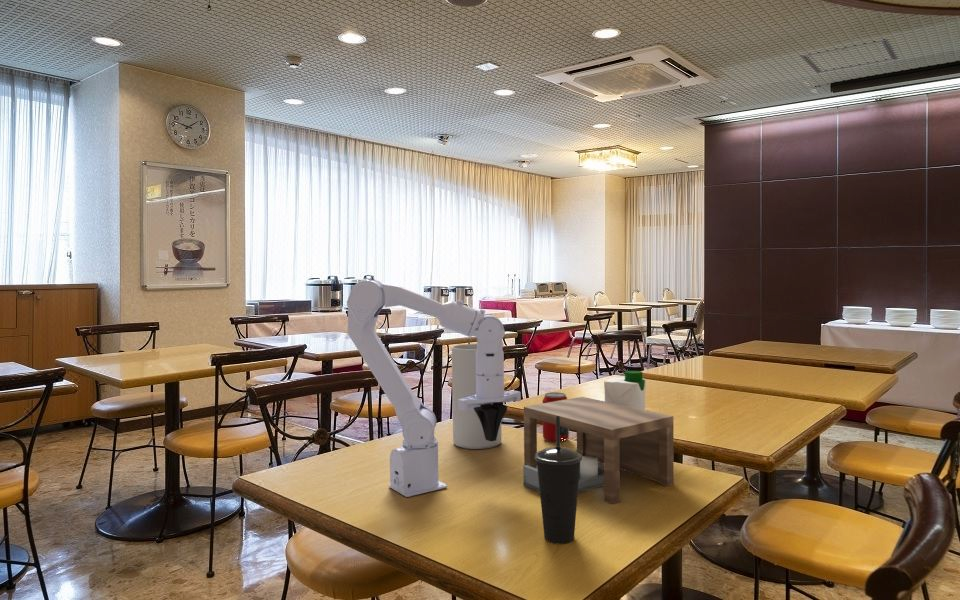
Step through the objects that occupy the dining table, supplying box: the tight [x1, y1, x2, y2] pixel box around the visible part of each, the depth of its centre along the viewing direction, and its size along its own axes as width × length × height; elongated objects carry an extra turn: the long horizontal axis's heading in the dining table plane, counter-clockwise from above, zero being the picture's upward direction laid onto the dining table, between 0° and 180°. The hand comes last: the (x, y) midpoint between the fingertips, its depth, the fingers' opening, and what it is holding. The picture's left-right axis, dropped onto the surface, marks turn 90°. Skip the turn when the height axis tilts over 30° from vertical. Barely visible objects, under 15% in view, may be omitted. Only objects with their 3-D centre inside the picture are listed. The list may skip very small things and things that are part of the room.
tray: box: [522, 450, 604, 494], centre depth 126 cm, size 16×10×5 cm, turn 125°
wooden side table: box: [523, 396, 675, 505], centre depth 131 cm, size 18×26×14 cm
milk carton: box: [603, 370, 647, 410], centre depth 146 cm, size 9×9×20 cm
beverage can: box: [542, 392, 570, 443], centre depth 160 cm, size 7×7×12 cm
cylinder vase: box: [451, 343, 503, 450], centre depth 158 cm, size 12×12×25 cm
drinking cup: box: [535, 416, 582, 545], centre depth 100 cm, size 8×8×20 cm
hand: (490, 440), depth 126 cm, fingers closed
